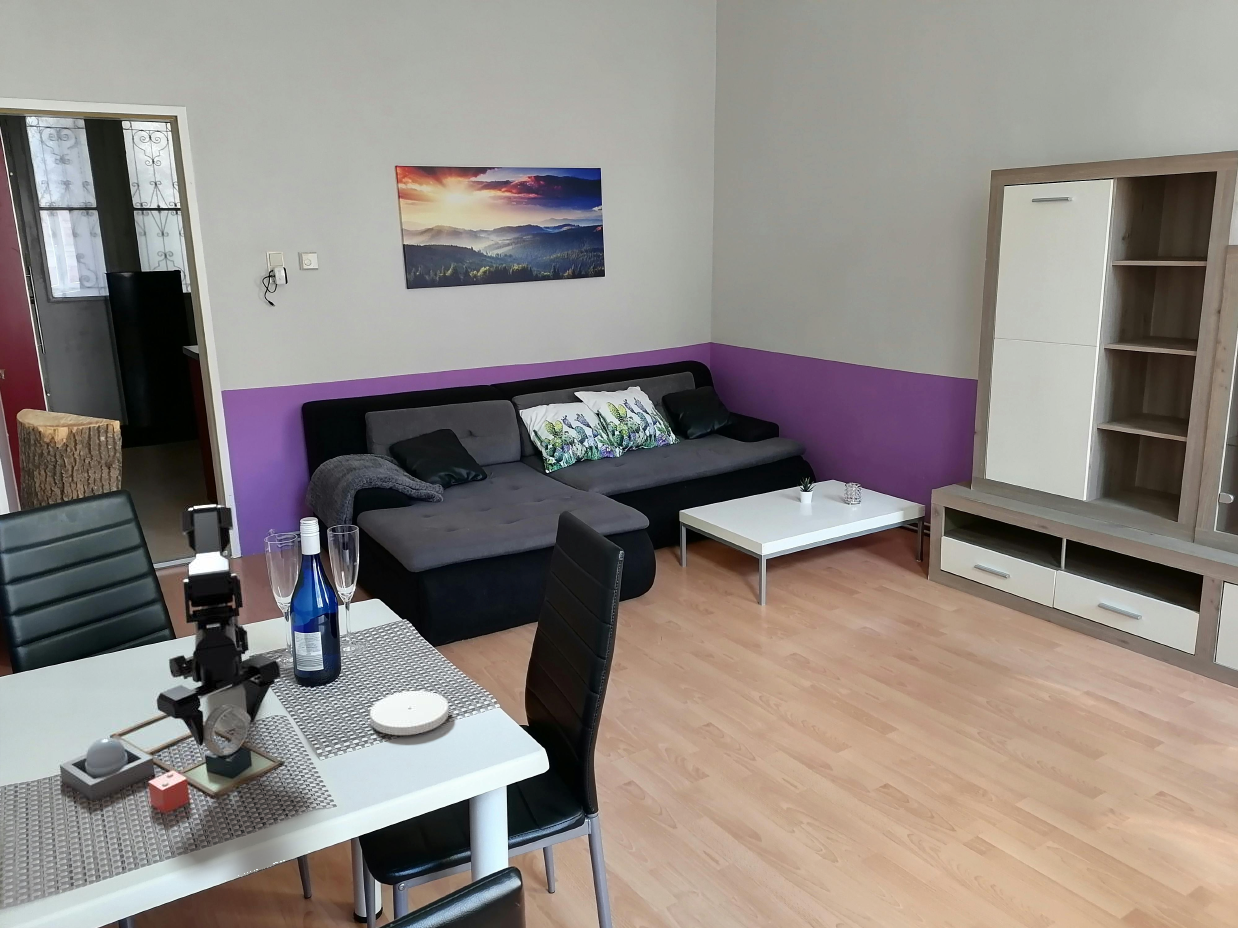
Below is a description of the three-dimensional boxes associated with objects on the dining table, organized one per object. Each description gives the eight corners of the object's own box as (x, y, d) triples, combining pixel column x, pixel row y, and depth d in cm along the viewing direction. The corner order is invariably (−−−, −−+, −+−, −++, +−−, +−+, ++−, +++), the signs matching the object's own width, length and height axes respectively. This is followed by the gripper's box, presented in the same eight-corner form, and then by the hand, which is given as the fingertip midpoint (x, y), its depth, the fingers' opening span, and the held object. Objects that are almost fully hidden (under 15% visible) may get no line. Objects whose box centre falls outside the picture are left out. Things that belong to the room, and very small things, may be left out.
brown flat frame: (177, 709, 178) (177, 707, 178) (283, 763, 160) (283, 761, 160) (110, 737, 168) (109, 735, 168) (214, 798, 150) (214, 795, 150)
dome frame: (123, 755, 162) (121, 739, 162) (154, 773, 157) (152, 757, 156) (62, 781, 154) (59, 764, 154) (92, 802, 149) (90, 785, 148)
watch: (260, 759, 161) (254, 699, 158) (224, 784, 153) (218, 721, 151) (234, 753, 163) (228, 693, 160) (198, 777, 155) (191, 715, 153)
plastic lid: (464, 716, 176) (464, 704, 176) (407, 748, 165) (406, 735, 165) (413, 696, 184) (412, 684, 184) (354, 725, 173) (353, 712, 173)
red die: (175, 792, 151) (172, 769, 150) (189, 801, 149) (186, 777, 148) (151, 804, 148) (148, 780, 147) (165, 813, 146) (162, 789, 145)
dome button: (116, 757, 159) (112, 726, 158) (135, 768, 156) (131, 737, 155) (79, 773, 155) (75, 741, 153) (98, 785, 151) (93, 753, 150)
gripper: (239, 614, 165) (247, 697, 168) (133, 651, 150) (144, 741, 154) (278, 629, 158) (286, 715, 162) (171, 669, 144) (182, 763, 147)
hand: (226, 732), depth 156 cm, fingers open, 9 cm apart
